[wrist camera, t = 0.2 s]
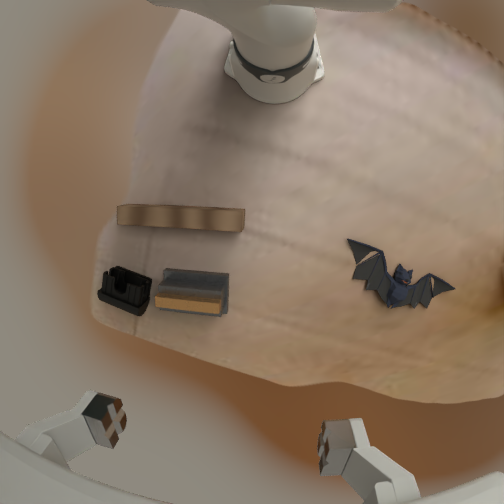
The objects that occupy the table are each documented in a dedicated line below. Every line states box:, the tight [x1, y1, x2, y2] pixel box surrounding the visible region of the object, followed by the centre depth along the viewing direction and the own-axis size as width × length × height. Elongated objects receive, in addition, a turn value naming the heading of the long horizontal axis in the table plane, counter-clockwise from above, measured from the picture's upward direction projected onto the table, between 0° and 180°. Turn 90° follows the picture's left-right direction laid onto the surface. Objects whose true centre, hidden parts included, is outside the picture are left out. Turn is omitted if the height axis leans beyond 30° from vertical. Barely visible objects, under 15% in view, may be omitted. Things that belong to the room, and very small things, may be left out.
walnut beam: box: [117, 204, 245, 232], centre depth 54 cm, size 24×4×5 cm, turn 86°
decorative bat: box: [347, 239, 455, 308], centre depth 55 cm, size 30×4×10 cm
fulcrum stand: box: [155, 268, 229, 317], centre depth 56 cm, size 8×13×8 cm, turn 87°
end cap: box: [98, 266, 152, 316], centre depth 58 cm, size 10×7×7 cm
